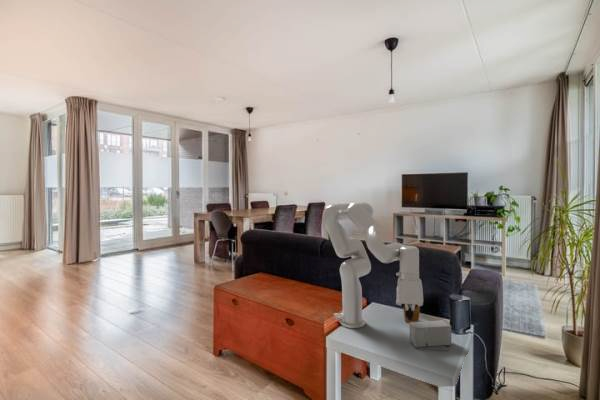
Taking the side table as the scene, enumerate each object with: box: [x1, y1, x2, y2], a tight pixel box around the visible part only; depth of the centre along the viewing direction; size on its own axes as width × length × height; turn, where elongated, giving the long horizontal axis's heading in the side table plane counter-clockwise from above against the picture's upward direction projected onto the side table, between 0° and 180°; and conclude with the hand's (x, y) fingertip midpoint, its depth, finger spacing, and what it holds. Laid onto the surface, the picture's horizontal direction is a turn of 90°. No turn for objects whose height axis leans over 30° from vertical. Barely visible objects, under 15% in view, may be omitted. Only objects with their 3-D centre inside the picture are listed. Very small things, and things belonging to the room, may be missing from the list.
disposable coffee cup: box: [402, 304, 421, 324], centre depth 150 cm, size 10×10×12 cm
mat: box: [416, 345, 449, 352], centre depth 129 cm, size 12×12×1 cm
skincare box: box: [408, 319, 453, 348], centre depth 128 cm, size 8×7×16 cm
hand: (409, 318), depth 128 cm, fingers closed
